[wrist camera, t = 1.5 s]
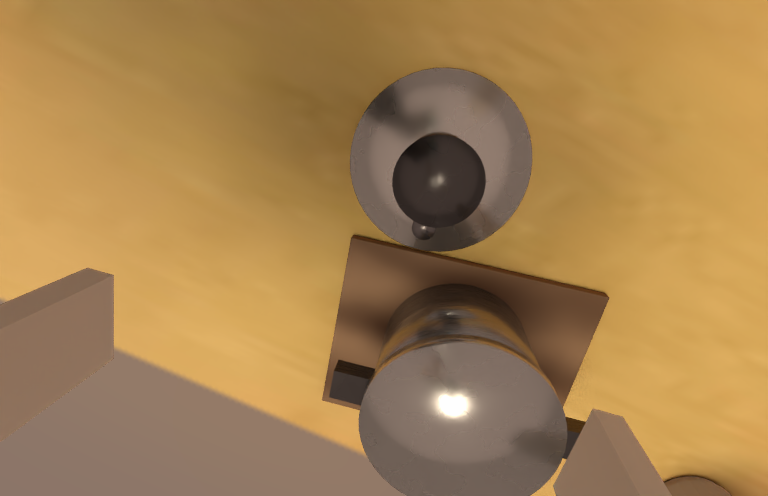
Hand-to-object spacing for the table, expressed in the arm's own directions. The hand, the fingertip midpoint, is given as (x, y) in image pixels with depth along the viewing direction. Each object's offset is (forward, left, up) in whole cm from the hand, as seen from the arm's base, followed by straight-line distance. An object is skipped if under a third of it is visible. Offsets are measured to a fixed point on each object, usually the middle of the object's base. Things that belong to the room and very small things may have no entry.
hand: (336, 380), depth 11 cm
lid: (-4, +2, -20) cm, 20 cm away
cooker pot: (+9, +6, -19) cm, 22 cm away
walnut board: (+10, +6, -20) cm, 23 cm away
